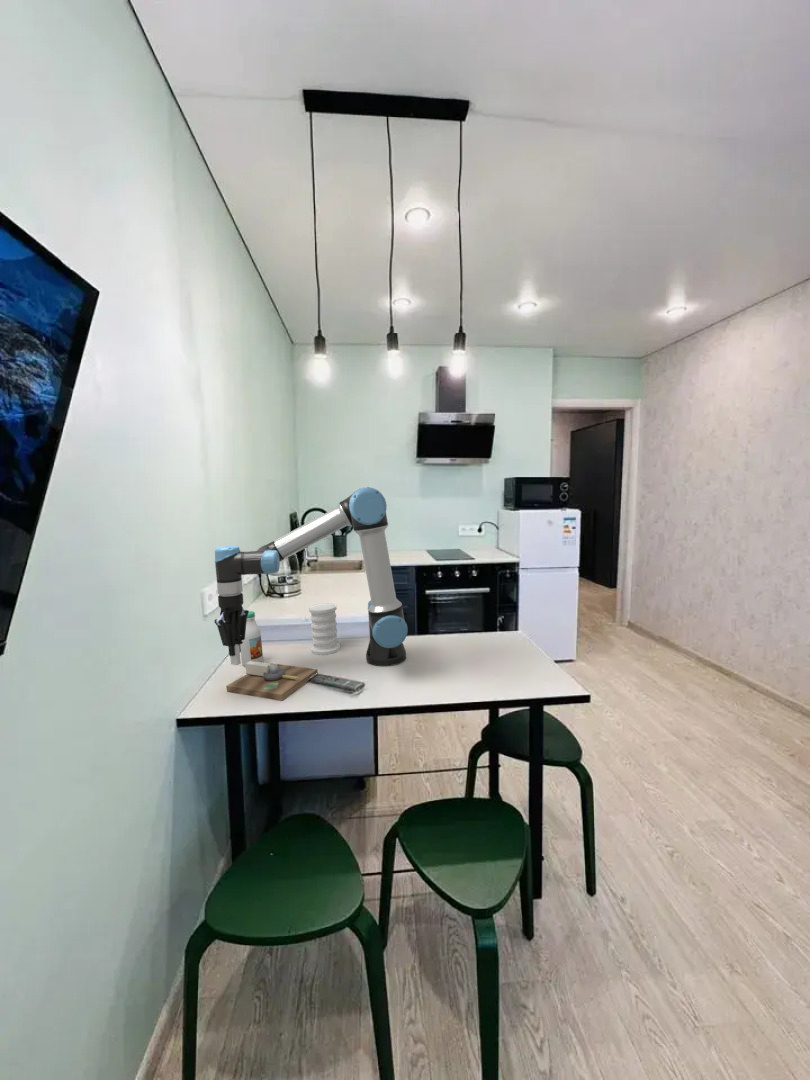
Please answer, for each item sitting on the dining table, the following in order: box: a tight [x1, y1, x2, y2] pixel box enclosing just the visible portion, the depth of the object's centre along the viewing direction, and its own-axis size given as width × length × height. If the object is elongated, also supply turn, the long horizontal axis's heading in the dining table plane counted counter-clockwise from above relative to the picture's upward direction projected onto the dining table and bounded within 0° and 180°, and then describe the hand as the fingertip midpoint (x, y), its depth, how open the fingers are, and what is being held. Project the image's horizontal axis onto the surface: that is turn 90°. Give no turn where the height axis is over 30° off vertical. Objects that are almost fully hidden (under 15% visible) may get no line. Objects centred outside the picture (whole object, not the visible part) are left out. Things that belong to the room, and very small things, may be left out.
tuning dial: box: [245, 661, 299, 680], centre depth 148 cm, size 20×7×4 cm, turn 68°
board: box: [226, 662, 319, 701], centre depth 148 cm, size 22×20×2 cm
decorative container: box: [308, 602, 341, 656], centre depth 177 cm, size 12×12×18 cm
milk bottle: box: [240, 610, 264, 668], centre depth 165 cm, size 8×8×20 cm
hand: (235, 663), depth 143 cm, fingers closed
